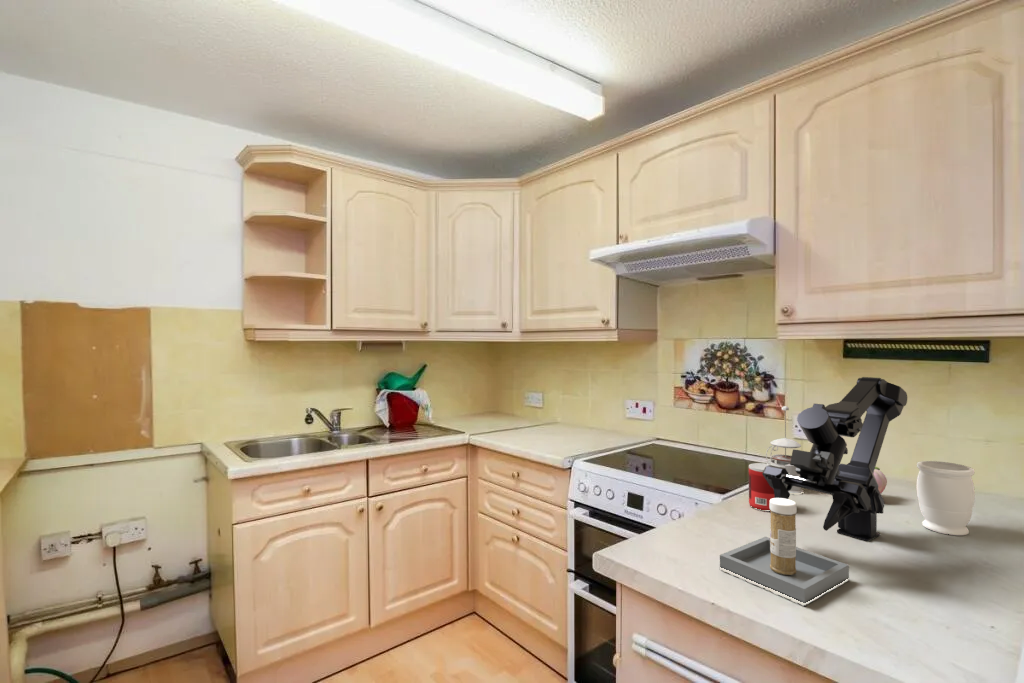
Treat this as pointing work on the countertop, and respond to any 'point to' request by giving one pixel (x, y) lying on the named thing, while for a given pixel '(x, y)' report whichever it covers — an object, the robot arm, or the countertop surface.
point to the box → (803, 586)
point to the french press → (785, 456)
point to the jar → (945, 496)
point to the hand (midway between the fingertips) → (799, 522)
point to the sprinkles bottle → (783, 536)
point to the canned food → (759, 487)
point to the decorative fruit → (880, 479)
